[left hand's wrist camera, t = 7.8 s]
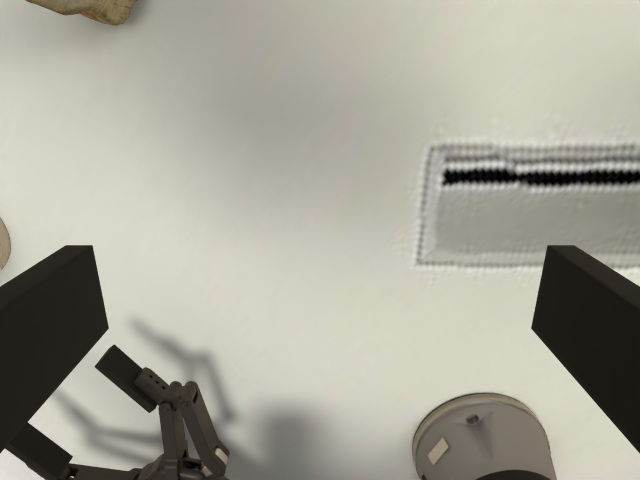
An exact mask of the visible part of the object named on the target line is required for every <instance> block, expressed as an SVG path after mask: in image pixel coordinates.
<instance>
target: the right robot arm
mask: <svg viewBox="0 0 640 480" xmlns="http://www.w3.org/2000/svg"><path fill="white" fill-rule="evenodd" d="M95 368H96V369H98V370H99V371H100V372H101V373H102V374H104V375H105V376H106V377H107V378H108V379H110V380H111V381H112V382H113V383H114V384H115V385H117V386H118V387H119V388H120V389H121V390H123V391H124V392H125V393H126V394H127V395H128V396H130V397H131V398H132V399H133V400H134V401H136V402H137V403H138V404H139V405H140V406H142V407H143V408H144V409H145V410H146V411H147V412H149V413H150V412H152V411H153V410H154V409H155V408H156V406H157V405H159V415H160V423H161V431H162V438H163V446H164V454H162V455H161V456H159V457H158V459H157V460H156V461H155V462H153V463H150V464H148V465H146V466H145V467H143V469H139V468H134V469H132V470H130V471H122V470H114V469H107V468H100V467H92V466H85V465H78V464H70V463H69V462H70V460H71V459H72V457H73V456H71V455H70V454H69V453H68V452H66V451H65V450H64V449H62V448H61V447H60V446H58V445H57V444H56V443H54V442H53V441H52V440H50V439H49V438H48V437H46V436H45V435H44V434H42V433H41V432H40V431H38V430H37V429H36V428H34V427H33V426H32V425H30V424H29V423H28V422H27V423H26V424H25V425H24V427H23V428H22V429H21V430H20V431H19V432H18V433H17V435H16V436H15V437H14V438H13V439H12V440H11V442H10V443H9V444H8V445H7V446H6V447H5V449H7V450H8V451H9V452H11V453H12V454H14V455H15V456H16V457H18V458H19V459H21V460H22V461H23V462H25V463H26V465H27V466H28V467H29V468H30V469H31V470H33V471H34V472H36V473H37V474H38V475H40V476H41V477H43V478H44V479H45V480H229V479H227V478H226V477H225V476H224V474H225V470H226V465H227V461H228V457H229V450H228V449H227V448H226V447H225V446H224V445H223V444H222V443H221V441H220V440H219V439H218V437H217V434H216V432H215V429H214V426H213V424H212V421H211V419H210V416H209V413H208V411H207V408H206V406H205V403H204V400H203V398H202V395H201V393H200V390H199V388H198V385H197V383H195V382H193V381H189V382H187V383H186V385H185V386H182V384H181V383H179V382H177V381H174V382H172V383H171V384H170V386H169V385H168V384H167V383H166V382H165V381H163V380H162V379H161V378H160V377H158V375H157V374H155V373H154V372H153V371H152V370H151V369H149V368H146V367H145V368H144V369H142V368H141V367H139V366H138V365H137V364H136V363H135V362H134V361H133V360H132V359H130V358H129V357H128V356H127V355H126V354H125V353H124V352H122V351H121V350H120V349H119V348H118V347H117V346H116V345H113V346H112V347H110V348H109V349H108V350H107V352H106V353H105V354H104V355H103V357H102V358H101V359H100V360H99V362H98V363H97V364H96V365H95ZM183 418H184V421H185V423H186V426H187V428H188V431H189V433H190V435H191V438H192V440H193V443H194V445H195V447H196V450H197V452H198V455H199V457H200V459H201V460H198V459H193V458H190V457H189V455H188V446H187V440H185V435H184V425H183ZM413 457H414V461H415V465H416V469H417V473H418V475H419V477H420V479H421V480H557V479H556V475H555V470H554V466H553V462H552V459H551V452H550V446H549V441H548V438H547V435H546V433H545V430H544V429H543V427H542V425H541V424H540V422H539V421H538V419H537V418H536V416H535V415H534V414H533V412H532V411H531V410H530V409H529V408H528V407H526V406H525V405H524V404H522V403H520V402H519V401H517V400H515V399H512V398H509V397H506V396H502V395H497V394H474V395H468V396H464V397H460V398H457V399H455V400H452V401H450V402H448V403H446V404H444V405H442V406H440V407H439V408H437V409H436V410H435V411H433V412H432V413H431V414H430V415H429V416H428V417H427V418H426V419H425V420H424V421H423V423H422V424H421V425H420V427H419V429H418V431H417V433H416V435H415V438H414V442H413ZM71 476H73V477H74V478H71Z"/></svg>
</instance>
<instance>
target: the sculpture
mask: <svg viewBox="0 0 640 480" xmlns="http://www.w3.org/2000/svg"><path fill="white" fill-rule="evenodd" d="M26 1H28V2H31V3H34V4H37V5H40V6H42V7H45V8H47V9H50V10H52V11H55V12H57V13H60V14H62V15H73V14H78V13H80V14H82V15H84V16H86V17H88V18H90V19H93V20H96V21H99V22H102V23H106V24H110V25H119V24H123V23H124V22H125V21H126V19H127V18H128V16H129V14H130V12H129V10H130V8H131V6H132V4H133V2H135V1H137V0H26Z"/></svg>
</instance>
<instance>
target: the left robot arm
mask: <svg viewBox="0 0 640 480" xmlns="http://www.w3.org/2000/svg"><path fill="white" fill-rule="evenodd" d="M108 329H109V327H108V322H107V317H106V312H105V307H104V302H103V297H102V292H101V286H100V281H99V276H98V271H97V266H96V261H95V256H94V251H93V246H92V245H66V246H64V247H63V248H61V249H59V250H58V251H56V252H55V253H53V254H51V255H50V256H48V257H47V258H45V259H44V260H42V261H40V262H39V263H37V264H36V265H34V266H32V267H31V268H29V269H28V270H26V271H24V272H23V273H21V274H20V275H18V276H17V277H15V278H13V279H12V280H10V281H9V282H7V283H5V284H4V285H2V286H1V287H0V453H1V452H2V451H3V450H4V448H5V447H6V446H7V445H8V444H9V443H10V442H11V440H12V439H13V438H14V437H15V436H16V435H17V433H18V432H19V431H20V430H21V429H22V428H23V427H24V425H25V424H26V423H27V422H28V421H29V420H30V418H31V417H32V416H33V415H34V414H35V413H36V412H37V410H38V409H39V408H40V407H41V406H42V405H43V404H44V402H45V401H46V400H47V399H48V398H49V397H50V395H51V394H52V393H53V392H54V391H55V390H56V389H57V387H58V386H59V385H60V384H61V383H62V382H63V380H64V379H65V378H66V377H67V376H68V375H69V374H70V372H71V371H72V370H73V369H74V368H75V367H76V366H77V364H78V363H79V362H80V361H81V360H82V359H83V357H84V356H85V355H86V354H87V353H88V352H89V351H90V349H91V348H92V347H93V346H94V345H95V344H96V343H97V341H98V340H99V339H100V338H101V337H102V336H103V334H104V333H105V332H106V331H107V330H108ZM531 329H532V330H533V331H534V332H535V333H536V334H537V336H538V337H539V338H540V339H541V340H542V341H543V343H544V344H545V345H546V346H547V347H548V348H549V349H550V351H551V352H552V353H553V354H554V355H555V356H556V357H557V359H558V360H559V361H560V362H561V363H562V364H563V366H564V367H565V368H566V369H567V370H568V371H569V372H570V374H571V375H572V376H573V377H574V378H575V379H576V380H577V382H578V383H579V384H580V385H581V386H582V387H583V389H584V390H585V391H586V392H587V393H588V394H589V395H590V397H591V398H592V399H593V400H594V401H595V402H596V404H597V405H598V406H599V407H600V408H601V409H602V410H603V412H604V413H605V414H606V415H607V416H608V417H609V418H610V420H611V421H612V422H613V423H614V424H615V425H616V427H617V428H618V429H619V430H620V431H621V432H622V433H623V435H624V436H625V437H626V438H627V439H628V440H629V442H630V443H631V444H632V445H633V446H634V447H635V448H636V450H637V451H638V452H639V453H640V287H639V286H638V285H636V284H635V283H633V282H631V281H630V280H628V279H627V278H625V277H623V276H622V275H620V274H619V273H617V272H616V271H614V270H612V269H611V268H609V267H608V266H606V265H604V264H603V263H601V262H600V261H598V260H596V259H595V258H593V257H592V256H590V255H589V254H587V253H585V252H584V251H582V250H581V249H579V248H577V247H576V246H574V245H548V246H547V251H546V256H545V261H544V266H543V271H542V276H541V281H540V286H539V292H538V297H537V302H536V307H535V312H534V317H533V322H532V327H531Z"/></svg>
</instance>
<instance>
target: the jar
mask: <svg viewBox="0 0 640 480" xmlns="http://www.w3.org/2000/svg"><path fill="white" fill-rule="evenodd" d="M9 254H10V239H9V235H8V232H7V229H6V227H5V225H4V223H3V222H2V220H1V219H0V270H1V269H2V268H3V267H4V265H5V264H6V262H7V260H8V258H9Z"/></svg>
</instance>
